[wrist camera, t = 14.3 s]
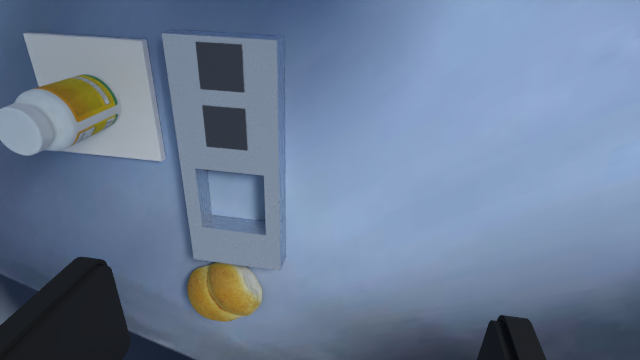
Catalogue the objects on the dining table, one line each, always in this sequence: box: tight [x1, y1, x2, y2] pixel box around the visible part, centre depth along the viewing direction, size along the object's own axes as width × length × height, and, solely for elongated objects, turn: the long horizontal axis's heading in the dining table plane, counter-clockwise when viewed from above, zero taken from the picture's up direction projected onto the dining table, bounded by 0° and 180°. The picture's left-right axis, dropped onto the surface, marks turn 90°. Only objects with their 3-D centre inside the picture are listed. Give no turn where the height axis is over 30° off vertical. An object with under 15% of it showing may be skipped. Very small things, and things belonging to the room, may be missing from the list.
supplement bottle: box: [0, 74, 121, 156], centre depth 35 cm, size 5×5×10 cm
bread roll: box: [187, 262, 262, 322], centre depth 47 cm, size 8×9×4 cm
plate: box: [23, 32, 166, 162], centre depth 39 cm, size 12×12×1 cm
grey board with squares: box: [162, 30, 286, 271], centre depth 39 cm, size 24×10×3 cm, turn 178°
